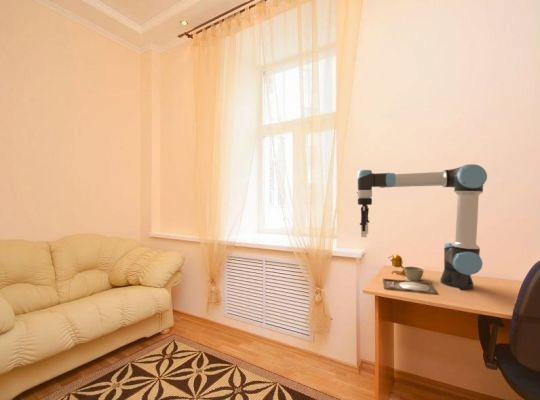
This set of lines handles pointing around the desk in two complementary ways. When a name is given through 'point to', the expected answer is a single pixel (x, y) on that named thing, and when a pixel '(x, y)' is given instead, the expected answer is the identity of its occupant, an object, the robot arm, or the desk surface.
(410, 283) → the saucer
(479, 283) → the desk surface
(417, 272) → the flower pot
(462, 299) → the desk surface
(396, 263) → the figurine
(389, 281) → the tray
